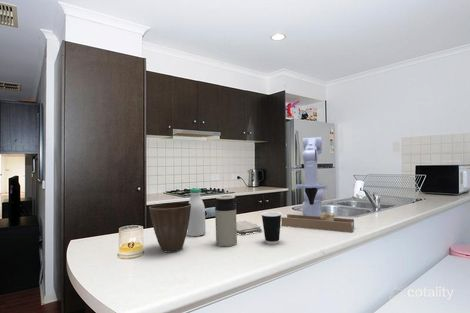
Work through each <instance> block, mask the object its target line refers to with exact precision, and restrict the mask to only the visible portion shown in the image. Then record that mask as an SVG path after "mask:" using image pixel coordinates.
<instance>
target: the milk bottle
mask: <svg viewBox="0 0 470 313" xmlns="http://www.w3.org/2000/svg"><path fill="white" fill-rule="evenodd" d="M189 193H190V198H189V201H188V203H190V204H191V211H190V219H189V225H188V229H187V235H188V236H189V235H190V236H189V237H193V236H197V237H200V236H199V235H203V234H205V235H206V211H205V208H206V207H205V204H204V201H203V199H202V196H201V194H202V188H199V187H198V188H197V187H196V188H195V187H194V188H190V190H189ZM203 236H204V235H203Z"/></svg>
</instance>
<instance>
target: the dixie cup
mask: <svg viewBox="0 0 470 313" xmlns="http://www.w3.org/2000/svg"><path fill="white" fill-rule="evenodd" d="M260 215H261V219H262V225H263V226H262V227H263V235H264V240H265V243H266V242H267V243H266V244H268V243H270V244H269V245H276V244H275V243H277V244H279V240H280V234H281V224H282V221H281V217H282V212H278V211H264V212H262V213H260Z"/></svg>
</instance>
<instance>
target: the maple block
mask: <svg viewBox="0 0 470 313" xmlns="http://www.w3.org/2000/svg"><path fill="white" fill-rule="evenodd" d="M320 215H321V220H325V221H334V218H335V213H334V212H323V211H322V212H321V214H320Z"/></svg>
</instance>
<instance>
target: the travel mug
mask: <svg viewBox="0 0 470 313" xmlns="http://www.w3.org/2000/svg"><path fill="white" fill-rule="evenodd" d="M235 198H236V196H235V195H227V194H226V195H217V196H215V200H216V203H215V205H214V209H215V211H214V212H215V216H214V218H215V219H214V220H215V244H216V245H217V246H219V245H220V246H219V247H223V246H227V247H233V246H235V245H237V243H238V234H237V225H236V222H237V204H236V203H235ZM232 245H233V246H232Z"/></svg>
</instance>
